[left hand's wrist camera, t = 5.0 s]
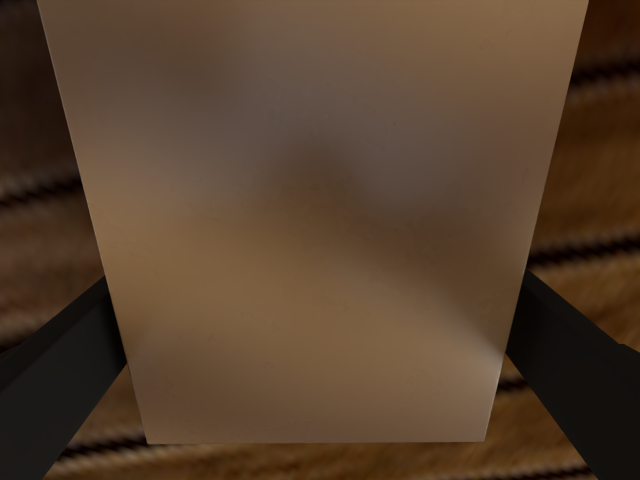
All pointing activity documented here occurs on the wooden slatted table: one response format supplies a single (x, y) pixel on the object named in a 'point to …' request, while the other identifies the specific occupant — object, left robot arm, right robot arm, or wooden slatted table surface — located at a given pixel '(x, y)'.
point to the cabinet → (313, 203)
